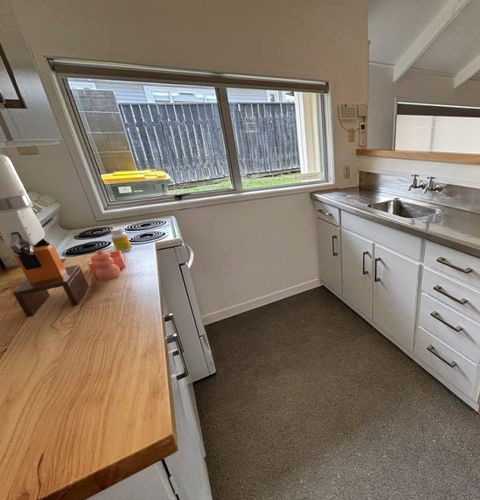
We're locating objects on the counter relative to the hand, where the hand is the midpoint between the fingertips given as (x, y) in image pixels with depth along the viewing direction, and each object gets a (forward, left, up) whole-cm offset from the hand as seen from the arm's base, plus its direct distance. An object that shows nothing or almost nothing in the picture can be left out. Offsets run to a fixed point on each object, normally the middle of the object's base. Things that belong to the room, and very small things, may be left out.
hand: (41, 261), depth 81 cm
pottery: (+9, +17, -13) cm, 24 cm away
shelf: (0, 0, -13) cm, 13 cm away
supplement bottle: (+11, +40, -13) cm, 44 cm away
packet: (0, 0, -5) cm, 5 cm away
